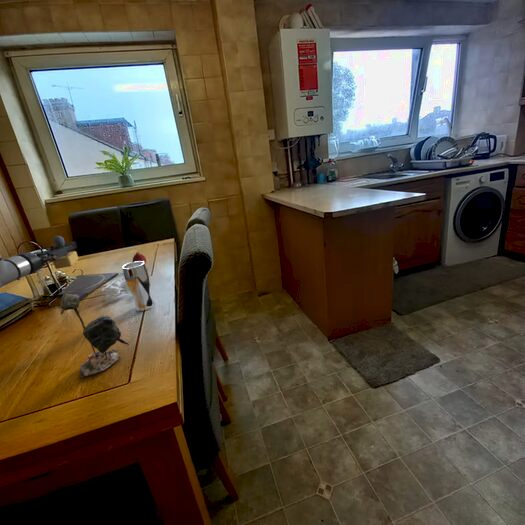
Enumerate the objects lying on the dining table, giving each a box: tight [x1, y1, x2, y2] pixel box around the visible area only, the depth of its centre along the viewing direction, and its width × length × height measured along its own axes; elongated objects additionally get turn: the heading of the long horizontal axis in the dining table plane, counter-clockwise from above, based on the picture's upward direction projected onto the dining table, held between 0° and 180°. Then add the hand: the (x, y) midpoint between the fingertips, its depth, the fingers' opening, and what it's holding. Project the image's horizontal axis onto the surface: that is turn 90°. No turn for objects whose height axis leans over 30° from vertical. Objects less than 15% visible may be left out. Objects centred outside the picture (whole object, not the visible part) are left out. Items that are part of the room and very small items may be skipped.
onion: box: [132, 251, 147, 265], centre depth 129 cm, size 6×6×8 cm
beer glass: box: [121, 261, 156, 312], centre depth 90 cm, size 7×7×15 cm
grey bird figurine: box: [59, 294, 130, 378], centre depth 63 cm, size 8×11×20 cm
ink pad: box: [60, 292, 88, 302], centre depth 104 cm, size 7×5×2 cm
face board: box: [57, 272, 119, 297], centre depth 118 cm, size 20×20×1 cm
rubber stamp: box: [52, 235, 79, 270], centre depth 113 cm, size 10×6×12 cm, turn 18°
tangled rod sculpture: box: [100, 277, 132, 297], centre depth 110 cm, size 19×14×4 cm
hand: (71, 245), depth 118 cm, fingers closed on rubber stamp, 2 cm apart
